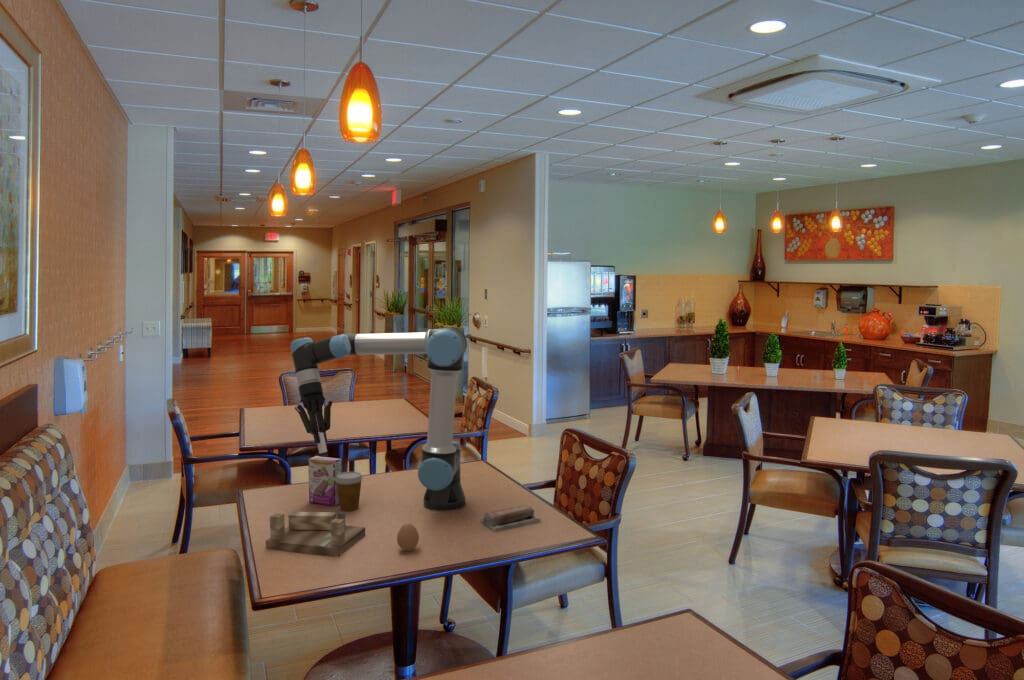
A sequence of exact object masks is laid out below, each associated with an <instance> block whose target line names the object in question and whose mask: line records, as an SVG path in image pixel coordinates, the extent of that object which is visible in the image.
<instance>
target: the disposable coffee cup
mask: <svg viewBox="0 0 1024 680" xmlns="http://www.w3.org/2000/svg"><path fill="white" fill-rule="evenodd" d="M363 477H364V476H362V473H361V472H358V471H344V472H342V473H339V474H337V476H336V478H335V481H336V483H337V489H338V496H339V509H340V510H341V511H344V510H346V511H345V512H349V511H348V510H352V511H355V509H356V510H358V509H359V506H360V505H359V504H360V495H361V487H362V481H363ZM357 508H358V509H357Z"/></svg>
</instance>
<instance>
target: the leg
mask: <svg viewBox="0 0 1024 680" xmlns="http://www.w3.org/2000/svg"><path fill="white" fill-rule="evenodd" d="M334 519H337V512H335V511H334V512H331V511H329V512H326V511H322V512H321V511H291V512H290V513H289V514H288V526H289V529H297V530H331V525H330V522H331V521H333V520H334Z"/></svg>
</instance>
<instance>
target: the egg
mask: <svg viewBox="0 0 1024 680" xmlns="http://www.w3.org/2000/svg"><path fill="white" fill-rule="evenodd" d="M396 537H397V538H396V540H397V545H398V546H399V548H400V549H401V550H403V551H405V552H411V551H412V550H415V548H416V547H417V546H418V544H419V540H420V536H419V532H418V530H417V528H416V526H414V525H413V524H411V523H405V524H403V525H401V527H400V529H399V530H398V533H397V535H396Z"/></svg>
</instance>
